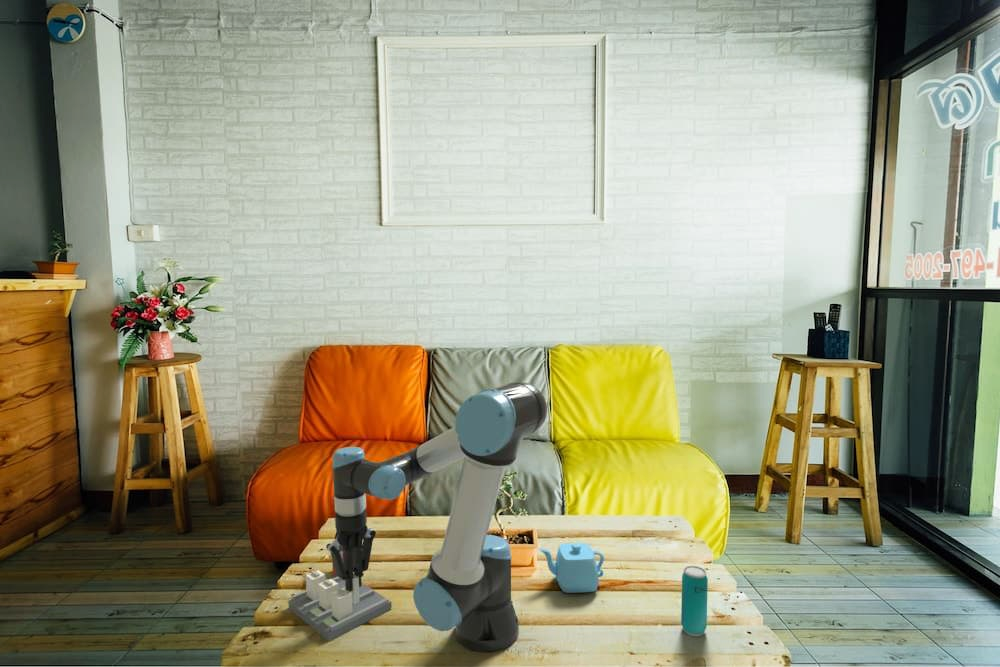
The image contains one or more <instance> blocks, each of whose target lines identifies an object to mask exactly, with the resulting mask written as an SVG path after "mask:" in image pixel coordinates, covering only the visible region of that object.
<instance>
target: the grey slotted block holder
mask: <svg viewBox="0 0 1000 667" xmlns="http://www.w3.org/2000/svg"><path fill="white" fill-rule="evenodd" d="M331 579H332V578H331ZM332 580H334V581H335V582H337V583H338V587H339V589H343V588H345V589H346V587H345V585H346V584H345V580H342V579H341V578H339V577H338V576H337V577H335V578H333V579H332ZM359 599H360V602H358V603H356V604H354V603H352V609H353V615H351V616H349V617H346V618H344V619H342V620H340V621H339V620H337V619H336V618H335V617H333V616H332V608H331V609H329V610H327V611H326V610H325V609H324V608H322V607H321V606H320V605H319V598H318V599H316V600H314V601H313V600H312V599H311V598H309V597H308V596H307V592H306V589H305V590H302V591H300V592H297V593H296V594H293V595H291V599H290V600H288V602H287V603H288V610H290V611H291V612H292V611H293V612H292V613H294V615H296V616H297V617H298V618H299V619H301V620H302V621H303V622H304V623H306V625H308V626H309V627H310V628H311V629H313V631H315V632H316V633H317V634H318V635H320V636H321V637H322V638H324V640H326V641H327V642H330V641H332V640H334V639H336V638H338V637H341V636H342V635H344V634H346V633H348V632H350V631H351V630H354V629H355V628H358V627H360V626H361V625H363V624H364V625H365V623H367V622H369V621H372V620H374V619H375V618H377V617H379V616H381V615H382V614H384V613H387V612H389V611H391V610H392V609H393V608H392V601H391V600H389V599H388V598H386V597H385V596H383V595H382V594H380V593H378V591H375V590H374V589H373V588H371V587H369V586H368V585H366V584H365V583H363V582H362V585H361V587H359ZM391 608H392V609H391ZM390 609H391V610H390ZM388 610H389V611H388Z"/></svg>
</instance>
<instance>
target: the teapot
mask: <svg viewBox="0 0 1000 667" xmlns="http://www.w3.org/2000/svg"><path fill="white" fill-rule="evenodd" d="M538 550H539V551H540V552H541V553H543V554H544V555H545V558H546V562H547V566H548V569H549V571H550V572H551V574H553V575H554V576H555V578H556V581H557V584H558V586H559V587H560V590H562V592H563V593H567V594H572V593H591V592H593V593H594V592H596V591H597V590H598V588H599V578H602V577H603V575H604V570H603V569H602V566H603V563H604V561H605V557H604V554H603V553H602V552H601V551H599V550H593V549H592V547H591V546H590V545H589V543H587V542H570V543H569V542H568V543H565V542H564V543H560V544H559V546H558V549H557V553H556V558H555V561H554V560H553V557H552V553H551V552H550V551H549V550H548V549H546V548H538ZM595 555H598V556H599V557H600V558H599V561H598V564H597V561H596V557H595Z"/></svg>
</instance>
